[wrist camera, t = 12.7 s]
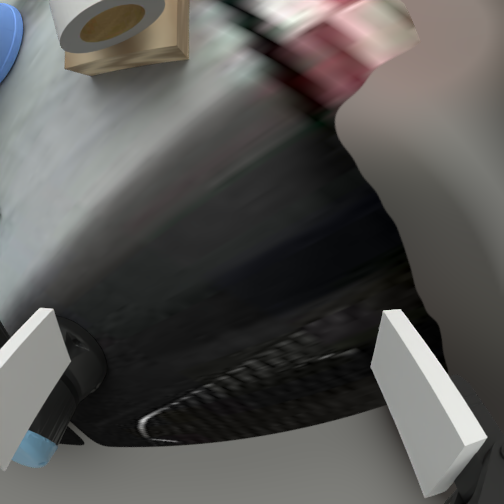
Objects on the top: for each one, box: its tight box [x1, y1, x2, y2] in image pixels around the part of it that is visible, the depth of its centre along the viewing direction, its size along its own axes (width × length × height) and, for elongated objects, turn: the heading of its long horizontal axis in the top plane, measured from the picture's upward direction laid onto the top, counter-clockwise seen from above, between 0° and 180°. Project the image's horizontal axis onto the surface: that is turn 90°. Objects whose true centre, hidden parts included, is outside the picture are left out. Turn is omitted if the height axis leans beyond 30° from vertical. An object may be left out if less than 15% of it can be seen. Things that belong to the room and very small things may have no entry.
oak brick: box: [65, 0, 189, 76], centre depth 27 cm, size 13×13×7 cm
